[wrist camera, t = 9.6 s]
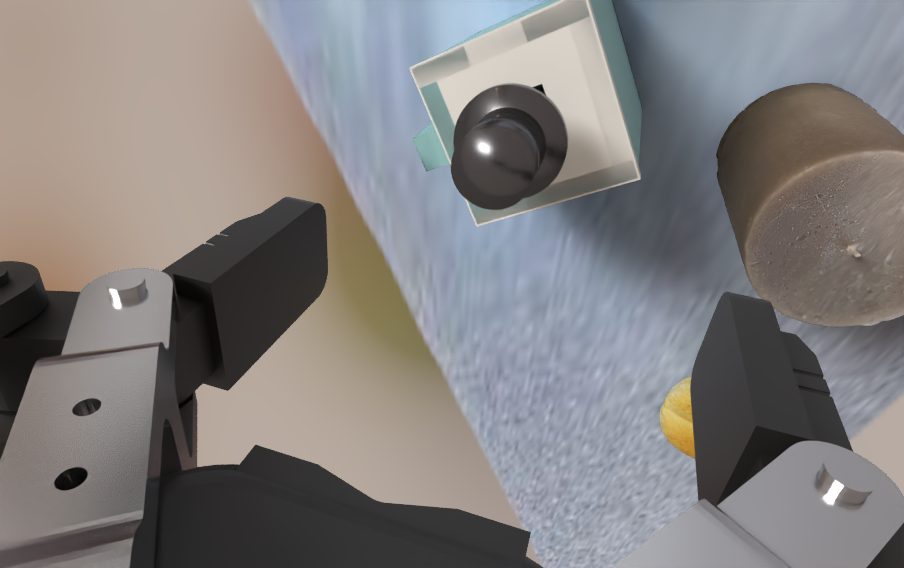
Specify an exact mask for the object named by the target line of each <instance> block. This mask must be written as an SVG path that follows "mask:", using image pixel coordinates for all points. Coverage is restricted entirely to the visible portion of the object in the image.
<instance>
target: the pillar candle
mask: <svg viewBox="0 0 904 568" xmlns="http://www.w3.org/2000/svg"><path fill="white" fill-rule="evenodd" d="M716 156H717V159H718V171H717V179H718V182H719V185H720V188H721V192H722V195H723V197H724V201H725V205H726V208H727V212H728V214H729V218H730V222H731V224H732V227H733V230H734V233H735V237H736V240H737V243H738V247H739V251H740V254H741V257H742V261H743V263H744V266H745V270H746V273H747V275H748V278H749V280H750V282H751V284H752V286H753V288H754V289H755V290H756V292H757V293H758V294H759V296H760V297H761V298H762V299H763V300H767V301H770V302H771V304H772V306H773V308H774V309H776V310H777V311H779V312H781V313H782V314H784V315H786V316H788V317H791V318H794V319H797V320H800V321H804V322H806V323H809V324H816V325H823V326H831V327H832V326H834V327H843V326H859V325H863V326H873V325H876V324H879V323H880V322H881V321H889V320H893V319H895V318H898V317H901V316H903V315H904V135H903V134H902V133H901V132H900V131H899V130H898V129H897V128H896V127H894V126H893V125H892V124H891V123H890V122H889V121H887V120H886V119H885V118H883V117H882V116H881V115H879V114H878V113H877V112H876V110H875V109H874V108H872V107H871V106H870V105H868V104H866V103H864V102H863V100H862V99H860V98H858V97H857V96H855V95H853V94H852V93H849V92H847V91H844V90H843V89H841V88H838V87H836V86H833V85H832V84H820V83H806V84H799V85H792V86H788V87H784V88H781V89H778V90H775V91H772V92H770V93H768V94H766V95H765V96H762V97H760V98H759V99H757V100H756V101H754V102H753V103H751V104H750V105H748V106H747V107H746V108H745V110H744V111H742V112H741V113H739V114H738V116H737V117H736V118H735V119H734V120H733V122H732V123H731V124H730V125H729V127H728V129H727V130H726V132H725V134H724V136H723V137H722V139H721V142H720V144H719V147H718V150H717V154H716Z"/></svg>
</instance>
